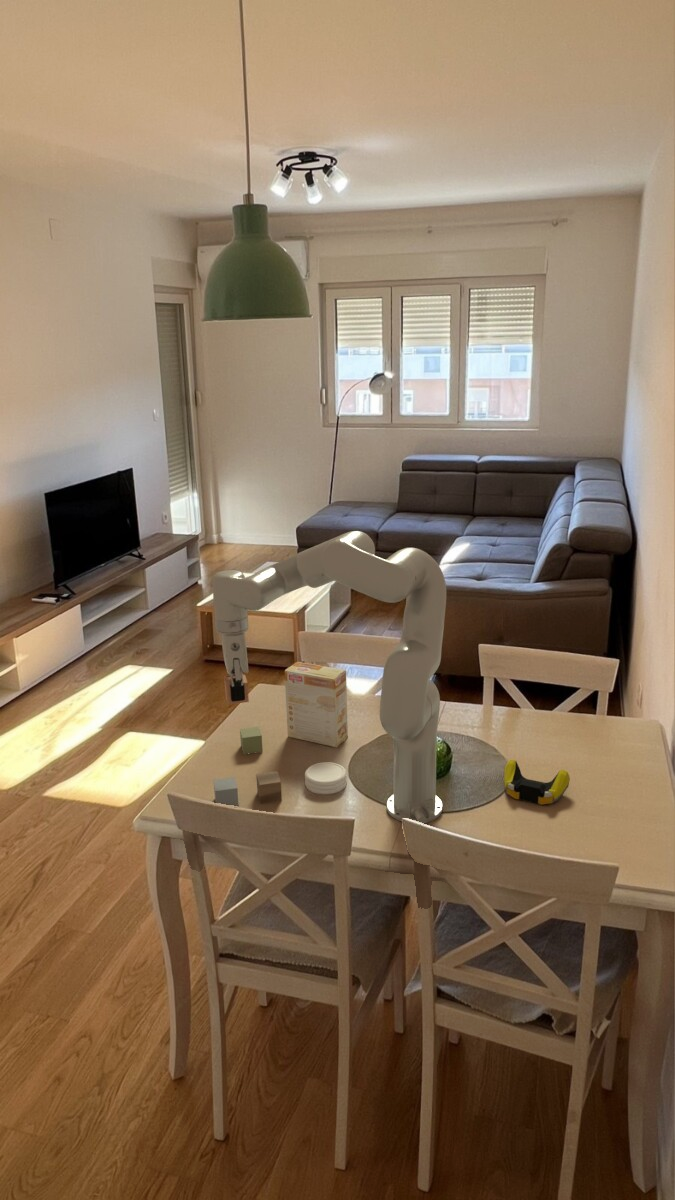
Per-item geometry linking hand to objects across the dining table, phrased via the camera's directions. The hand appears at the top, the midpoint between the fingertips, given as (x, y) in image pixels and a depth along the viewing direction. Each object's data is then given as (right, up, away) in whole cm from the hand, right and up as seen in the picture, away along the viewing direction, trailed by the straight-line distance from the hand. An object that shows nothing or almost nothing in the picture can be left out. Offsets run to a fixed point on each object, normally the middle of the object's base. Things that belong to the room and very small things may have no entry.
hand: (236, 694), depth 197 cm
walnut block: (+8, -24, -3) cm, 25 cm away
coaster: (+21, -22, +1) cm, 31 cm away
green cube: (+2, -16, +19) cm, 25 cm away
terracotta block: (0, -1, 0) cm, 1 cm away
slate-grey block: (-2, -24, -5) cm, 25 cm away
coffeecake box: (+19, -14, +24) cm, 34 cm away
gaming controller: (+70, -23, -5) cm, 73 cm away
